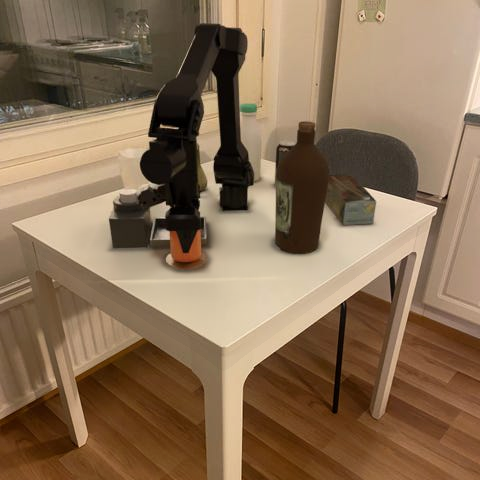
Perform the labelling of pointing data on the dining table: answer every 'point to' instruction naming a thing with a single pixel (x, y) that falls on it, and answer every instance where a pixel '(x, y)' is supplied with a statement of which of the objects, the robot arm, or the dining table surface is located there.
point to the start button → (128, 196)
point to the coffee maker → (129, 225)
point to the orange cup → (177, 250)
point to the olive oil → (301, 194)
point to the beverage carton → (350, 200)
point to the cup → (131, 167)
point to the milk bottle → (251, 136)
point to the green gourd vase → (201, 172)
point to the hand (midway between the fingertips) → (186, 245)
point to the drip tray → (163, 236)
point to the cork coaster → (187, 265)
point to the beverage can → (282, 151)
